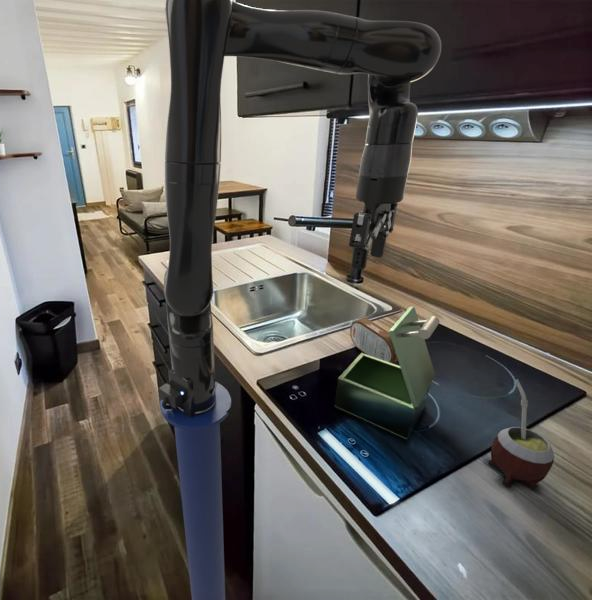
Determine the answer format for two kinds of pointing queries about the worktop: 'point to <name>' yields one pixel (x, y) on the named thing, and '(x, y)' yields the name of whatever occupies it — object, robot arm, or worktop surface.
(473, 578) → the worktop surface
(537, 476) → the mate gourd
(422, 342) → the lid
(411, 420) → the green box
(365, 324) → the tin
